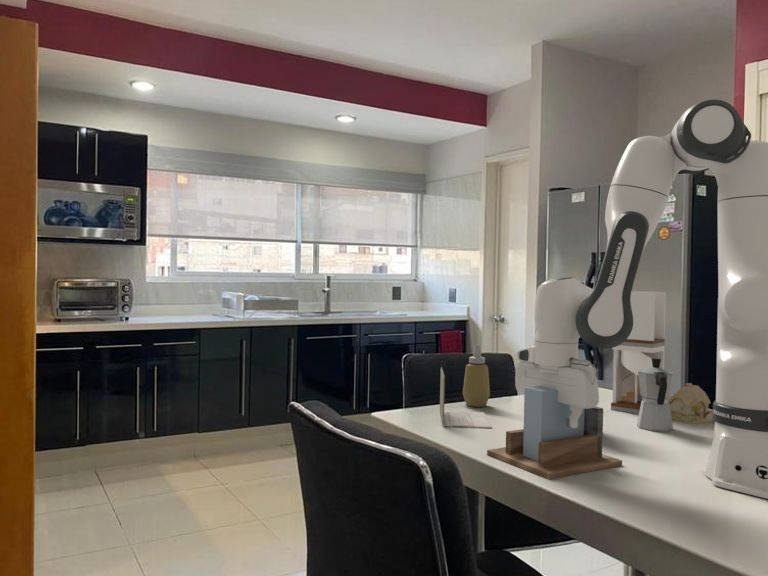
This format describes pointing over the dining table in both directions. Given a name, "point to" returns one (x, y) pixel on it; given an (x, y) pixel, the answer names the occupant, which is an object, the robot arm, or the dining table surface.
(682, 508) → the dining table surface
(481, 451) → the dining table surface
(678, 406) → the ceramic model
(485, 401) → the squeeze bottle
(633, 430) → the dining table surface
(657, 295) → the white coffee grinder
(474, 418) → the laptop
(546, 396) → the book
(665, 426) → the coffee maker
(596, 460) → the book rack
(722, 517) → the dining table surface
